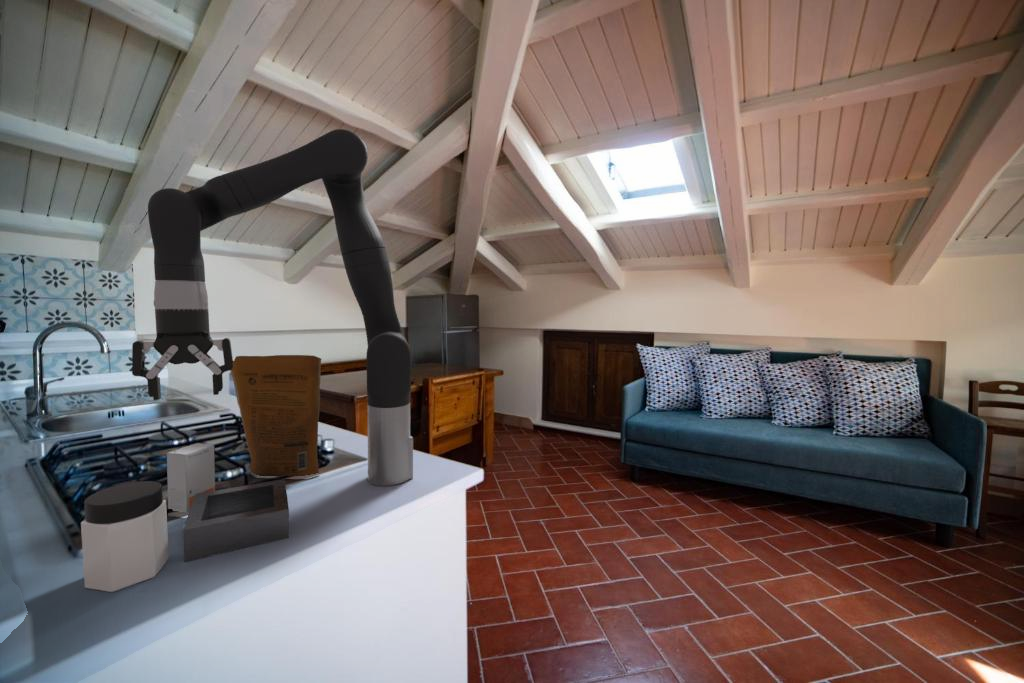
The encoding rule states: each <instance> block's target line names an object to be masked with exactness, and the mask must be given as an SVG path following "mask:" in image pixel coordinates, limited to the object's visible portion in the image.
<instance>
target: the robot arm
mask: <svg viewBox="0 0 1024 683" xmlns="http://www.w3.org/2000/svg"><path fill="white" fill-rule="evenodd" d="M368 153H369V152H368V147H367V145H366V143H365V142H364V141H363V139H362V138H361V137H360V136H359V135H358V134H356V133H355V132H353V131H351V130H349V129H343V128H342V129H341V128H338V129H334V130H331V131H330V130H329V132H327V133H325V134H323V135H321V136H319V137H317V138H316V139H314V140H312V141H310V142H308V143H306V144H304V145H302V146H300V147H298V148H295V149H293V150H291V151H288V152H286V153H284V154H280V155H279V156H275V157H273V158H271V159H270V158H269V159H268V160H264V161H262V162H258V163H255V164H252V165H250V166H246V167H243V168H240V169H237V170H233V171H231V172H227V173H224V174H220V175H217V176H214V177H212V178H211V179H208V180H207V181H206V182H205V183H204V185H202V186H199V187H197V188H194V189H190V190H188V191H183V190H181V189H176V188H173V187H168V188H161V189H159V190H156V191H155V192H154V193H153V194H152V195H151V196H150V198H149V199H148V203H147V214H148V217H147V218H148V223H149V229H150V235H151V236H150V237H151V242H152V245H153V252H154V254H153V255H154V256H153V267H154V269H153V270H154V289H153V290H154V292H153V297H154V298H153V307H154V315H155V316H154V318H155V331H156V336H155V337H156V338H155V340H154V341H144V340H141V339H140V340H135V341H134V342H133V343H132V344H131V345H132V346H131V347H132V348H131V349H132V350H131V353H132V359H131V360H132V361H131V374H132V376H134V377H141V378H144V379H146V380H147V393H148V394H147V395H148V396H149V398H152V399H153V400H154V401H159V400H160V399H161V398H162V394H161V393H162V392H161V391H162V390H161V377H159V374H160V373H161V371H163V369H164V368H165V367H167V365H169V363H170V364H172V365H180V364H197V363H199V362H201V363H202V364H203V365H204V366H205V367H206V368H208V369H209V370H210V371H211V372H212V373H213V374H212V390H213V392H212V393H213V396H215V395H216V396H217V395H219V393H220V392H222V390H223V388H224V383H223V382H224V381H223V374H224V373H226V372H228V371H230V370H232V368H233V361H234V360H233V358H234V357H233V353H232V352H233V350H232V343H231V339H230V338H229V337H224V338H223V339H222V338H221V339H212V337H211V335H210V314H209V313H210V312H209V299H208V298H209V297H208V290H207V286H206V273H205V260H204V255H203V252H202V249H201V232H202V231H204V230H206V229H208V228H210V227H213V226H215V225H217V224H218V223H221V222H223V221H224V220H226V219H228V218H231V217H234V216H238V215H242V214H244V213H247V212H251V211H252V210H256V209H258V208H259V209H260V208H261V207H264V206H266V205H269V204H270V203H273V202H275V201H277V200H278V199H280V198H283V197H284V196H286V195H288V194H290V193H291V192H293V191H295V190H298V189H299V188H301V187H304V186H305V185H307V184H310V183H312V182H315V181H319V180H321V179H322V182H323V185H324V188H325V191H326V193H327V196H328V199H329V202H330V204H331V208H332V213H333V217H334V224H335V228H336V234H337V239H338V243H339V248H340V252H341V253H340V254H341V257H342V261H343V264H344V266H343V267H344V268H345V272H346V276H347V279H348V282H349V284H350V287H351V290H352V293H353V295H354V297H355V300H356V303H357V304H358V307H359V309H360V311H361V314H362V317H363V323H364V327H365V333H366V340H367V342H366V344H367V349H366V397H367V400H366V401H367V404H366V405H367V481H368V482H369V483H370V484H371V485H376V486H382V487H383V486H384V487H385V486H395V485H399V484H401V483H404V482H406V481H408V480H410V479H411V480H412V479H413V478H414V437H413V436H412V435H411V393H412V392H411V390H412V352H411V348H410V345H409V344H410V343H408V341H407V339H406V337H405V335H404V331H403V329H402V325H401V322H400V320H399V317H398V314H397V310H396V306H395V297H394V287H393V278H392V272H391V266H390V261H389V258H388V253H387V249H386V244H385V242H384V239H383V237H382V234H381V232H380V230H379V228H378V226H377V224H376V222H375V221H374V219H373V217H372V215H371V213H370V210H369V209H368V206H367V202H366V198H365V192H364V188H363V187H364V186H363V180H362V179H363V178H362V173H363V171H364V170H365V168H366V166H367V163H368V157H369V156H368V155H369V154H368ZM213 346H216V347H217V350H218V351H221V352H222V353H223V354H222V355H223V362H224V364H222V365H219V364H218V362H216V361H215V360H214V358H212V356H211V355H209V354H208V353H209V351H210V350H211V349H212V348H213ZM152 348H154V350H156V352H157V353H159V355H161V357H160V358H159V359H158V360H157V361H156V362H155V364H154V365H153V366H152V367H151V368H150V369H148V368H146V364H145V363H146V361H145V360H146V359H145V358H146V354H149V353H150V351H151V349H152Z"/></svg>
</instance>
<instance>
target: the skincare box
mask: <svg viewBox="0 0 1024 683" xmlns="http://www.w3.org/2000/svg"><path fill="white" fill-rule="evenodd" d="M215 466H216V465H215V445H214V444H209V443H200V442H196V443H193V444H190V445H187V446H183V447H180V448H178V449H174V450H172V451H169V452H167V453H166V471H167V476H166V478H167V479H166V480H167V502H168V503H167V504H168V505H167V506H168V507H167V510H168V509H172V510H173V511H179V512H186V513H187V512H189V511H190V508H191V505H192V502H193V499H194V496H195V494H198V493H204V492H210V491H216V474H215V471H216V470H215Z"/></svg>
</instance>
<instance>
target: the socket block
mask: <svg viewBox="0 0 1024 683" xmlns="http://www.w3.org/2000/svg"><path fill="white" fill-rule="evenodd" d="M286 485H287V484H286V479H274V480H270V481H269V480H268V481H264V482H258V483H253V484H246V485H241V486H235V487H229V488H223V489H218V490H217V489H215V491H210V492H204V493H198V494H195V496H194V499H193V502H192V505H191V508H190V511H189V514H188V517H187V519H185V523H184V526H183V528H182V540H183V541H182V542H183V544H182V545H183V546H182V547H183V563H187V562H191V561H195V560H201V559H205V558H210V557H212V556H213V557H214V556H216V555H221V554H227V553H230V552H234V551H239V550H243V549H247V548H252V547H256V546H260V545H264V544H269V543H273V542H277V541H282V540H286V539H290V509H289V507H290V506H289V502H288V501H289V500H288V492H287V486H286Z"/></svg>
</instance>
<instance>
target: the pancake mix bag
mask: <svg viewBox="0 0 1024 683" xmlns="http://www.w3.org/2000/svg"><path fill="white" fill-rule="evenodd" d="M321 364H322V358H320V357H318V356H316V355H311V354H310V355H309V354H307V355H306V354H279V355H278V354H275V355H237V356H235V358H234V360H233V368H232V370H229V371H230V374H231V377H232V381H233V385H234V390H235V395H236V402H237V405H238V408H239V413H240V417H241V421H242V426H243V431H244V434H245V435H244V437H245V441H246V446H247V449H248V452H249V456H250V460H251V463H250V465H249V466H250V468H249V472H250V471H251V472H252V473H254V474H256V475H259V476H305V475H311V474H316V473H320V469H319V463H318V452H317V451H318V441H319V438H318V437H319V419H320V404H321V403H320V402H321V400H320V399H321V394H320V392H321V391H320V389H321V387H320V386H321Z"/></svg>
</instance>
